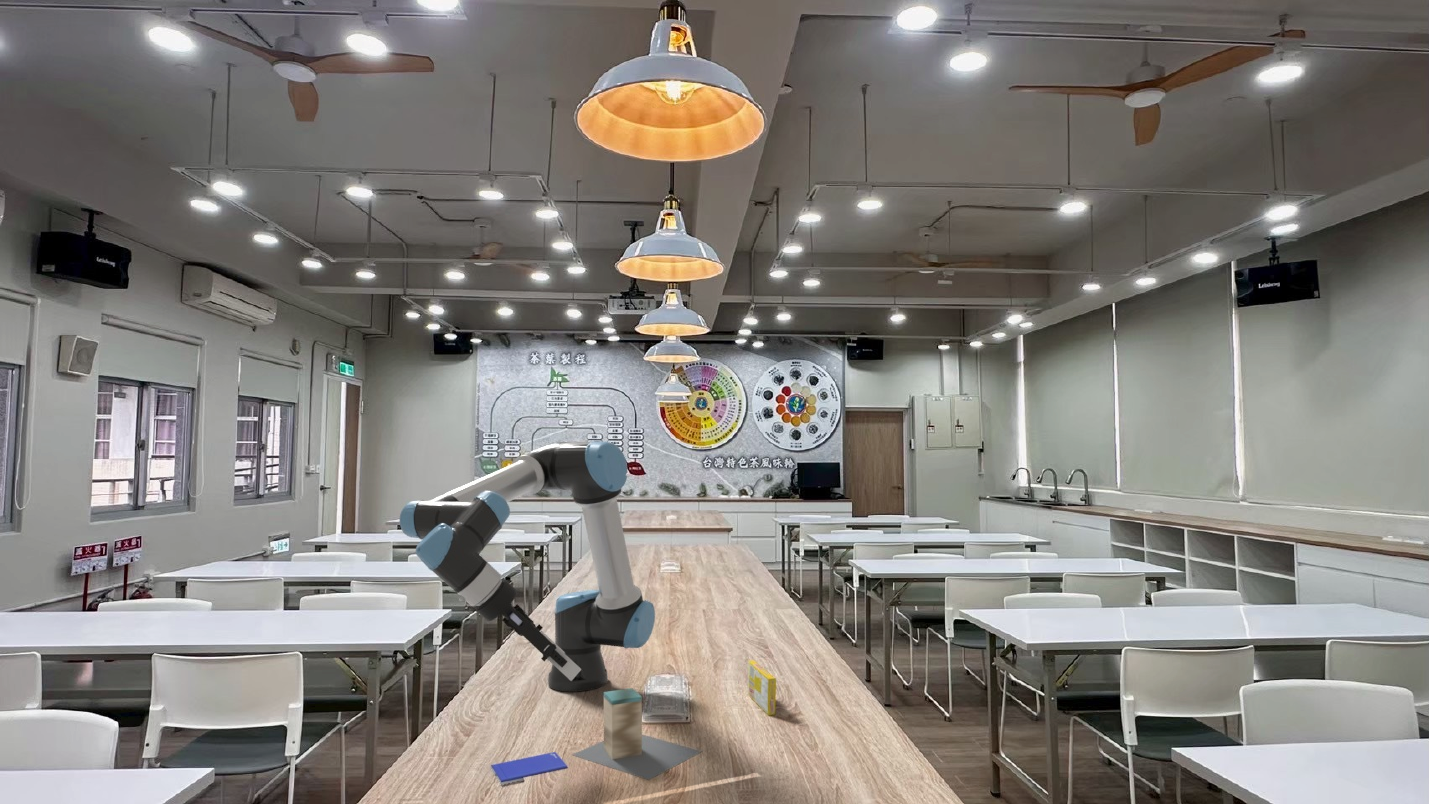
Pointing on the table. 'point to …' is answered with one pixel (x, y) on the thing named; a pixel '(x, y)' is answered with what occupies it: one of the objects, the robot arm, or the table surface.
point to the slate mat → (642, 757)
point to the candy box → (762, 687)
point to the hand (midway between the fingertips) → (567, 665)
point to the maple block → (622, 723)
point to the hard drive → (527, 767)
